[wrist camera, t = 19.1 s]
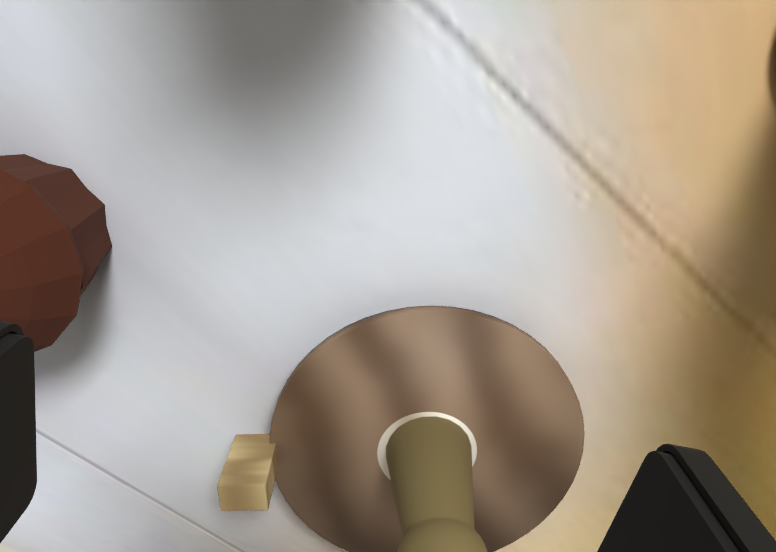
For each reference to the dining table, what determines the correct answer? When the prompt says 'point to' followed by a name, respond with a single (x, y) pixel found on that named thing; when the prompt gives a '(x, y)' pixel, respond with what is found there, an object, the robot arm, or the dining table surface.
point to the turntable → (406, 402)
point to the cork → (433, 486)
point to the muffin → (46, 245)
